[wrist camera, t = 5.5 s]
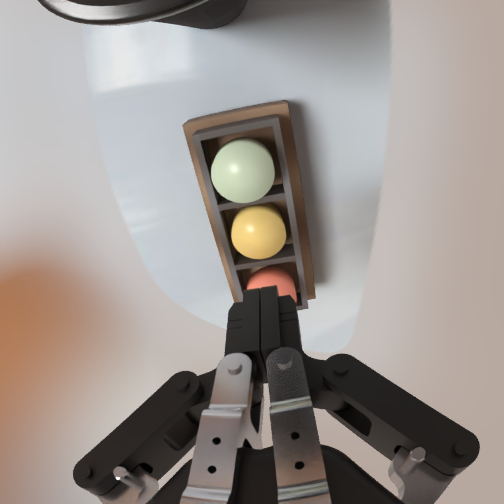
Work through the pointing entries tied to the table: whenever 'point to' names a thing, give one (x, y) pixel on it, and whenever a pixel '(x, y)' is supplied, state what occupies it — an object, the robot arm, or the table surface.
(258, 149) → the button sage
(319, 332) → the table surface
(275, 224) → the button ochre
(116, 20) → the drinking cup
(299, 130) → the table surface
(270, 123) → the toy traffic light
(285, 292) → the button coral
